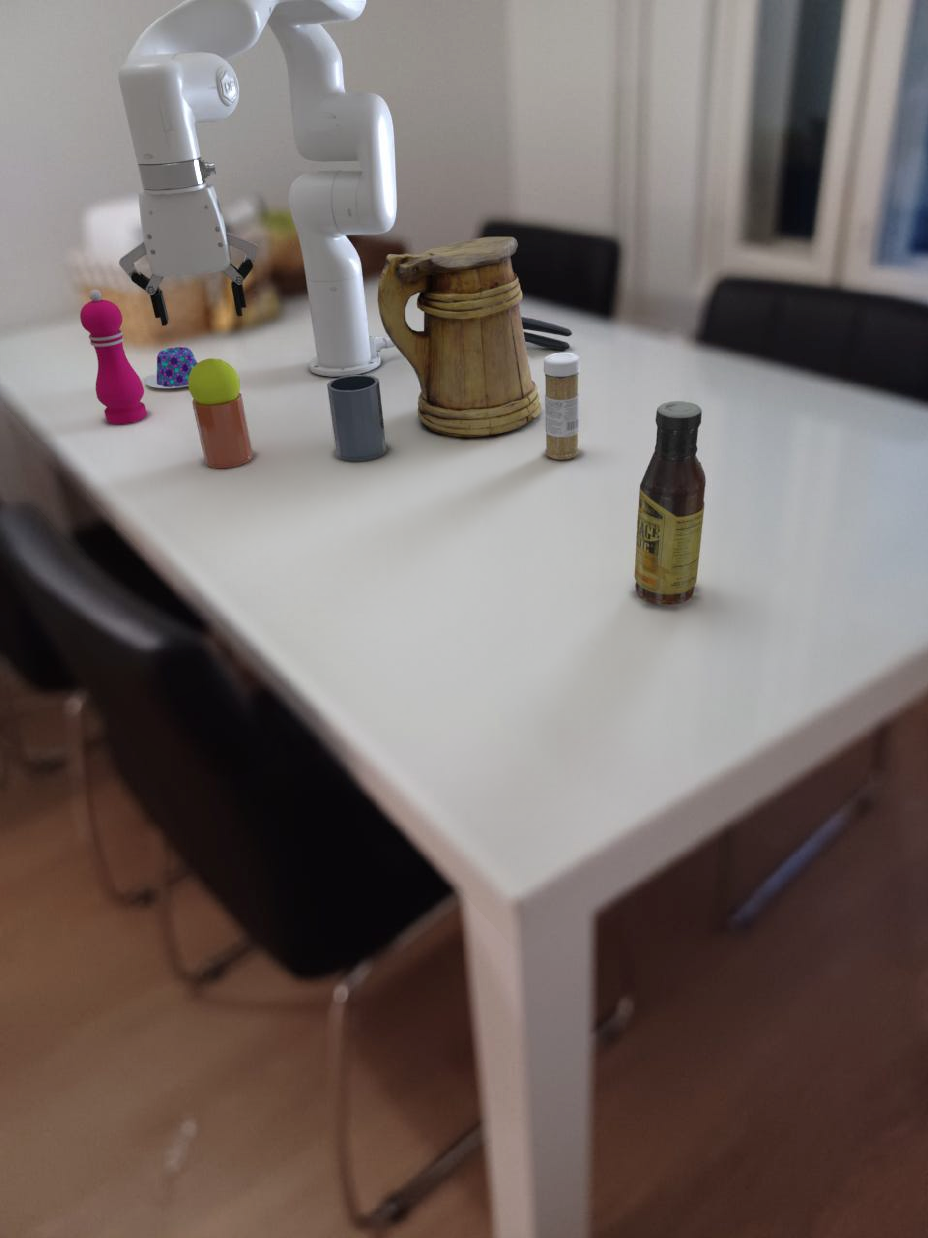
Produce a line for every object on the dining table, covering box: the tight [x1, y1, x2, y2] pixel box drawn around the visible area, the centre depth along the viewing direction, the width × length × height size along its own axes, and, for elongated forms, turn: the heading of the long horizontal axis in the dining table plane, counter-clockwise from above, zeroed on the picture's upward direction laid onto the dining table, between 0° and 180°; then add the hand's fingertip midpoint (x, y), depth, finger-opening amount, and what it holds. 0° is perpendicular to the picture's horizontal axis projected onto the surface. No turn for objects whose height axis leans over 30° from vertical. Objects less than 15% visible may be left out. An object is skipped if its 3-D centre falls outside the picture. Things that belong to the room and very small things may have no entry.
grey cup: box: [326, 374, 387, 463], centre depth 132 cm, size 7×7×10 cm
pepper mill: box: [79, 289, 148, 426], centre depth 148 cm, size 7×7×20 cm
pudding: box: [144, 346, 198, 389], centre depth 167 cm, size 12×12×5 cm
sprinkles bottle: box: [543, 352, 580, 461], centre depth 126 cm, size 5×5×13 cm
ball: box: [187, 357, 241, 405], centre depth 130 cm, size 7×7×7 cm
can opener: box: [521, 316, 573, 351], centre depth 172 cm, size 18×7×6 cm, turn 58°
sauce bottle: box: [633, 400, 707, 606], centre depth 92 cm, size 7×6×20 cm
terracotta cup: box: [191, 392, 254, 469], centre depth 133 cm, size 7×7×9 cm
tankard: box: [377, 236, 542, 438], centre depth 137 cm, size 18×24×25 cm
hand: (202, 318), depth 126 cm, fingers open, 9 cm apart
